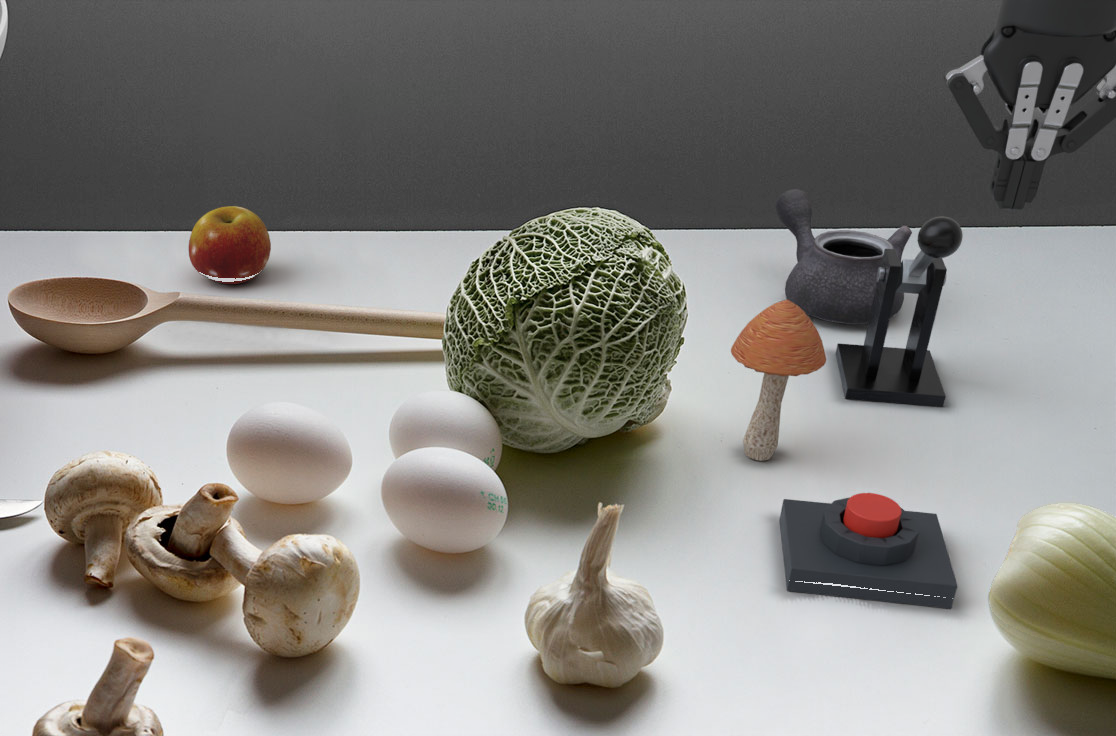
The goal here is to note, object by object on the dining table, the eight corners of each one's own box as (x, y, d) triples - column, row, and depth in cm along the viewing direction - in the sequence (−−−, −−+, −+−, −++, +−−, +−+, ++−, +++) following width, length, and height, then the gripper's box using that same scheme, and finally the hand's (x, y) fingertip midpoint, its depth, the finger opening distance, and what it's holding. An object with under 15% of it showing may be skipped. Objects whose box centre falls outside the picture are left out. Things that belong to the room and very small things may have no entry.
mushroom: (782, 427, 121) (810, 278, 113) (822, 471, 114) (854, 316, 106) (701, 435, 120) (724, 285, 112) (737, 480, 113) (763, 324, 105)
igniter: (893, 513, 102) (898, 495, 101) (900, 542, 99) (905, 523, 98) (840, 508, 103) (844, 490, 102) (845, 536, 100) (850, 517, 99)
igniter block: (930, 535, 106) (942, 494, 104) (951, 609, 98) (963, 566, 96) (779, 520, 108) (787, 479, 106) (786, 591, 100) (795, 548, 98)
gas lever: (966, 250, 111) (969, 211, 111) (922, 248, 111) (924, 208, 112) (926, 300, 124) (928, 264, 124) (886, 298, 124) (889, 262, 125)
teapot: (942, 309, 142) (964, 222, 137) (845, 342, 136) (864, 252, 130) (811, 254, 156) (826, 173, 151) (717, 282, 150) (729, 198, 144)
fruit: (203, 298, 147) (197, 231, 143) (181, 270, 154) (175, 205, 150) (283, 284, 150) (279, 218, 146) (257, 257, 157) (254, 193, 153)
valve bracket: (943, 407, 124) (975, 283, 117) (845, 399, 126) (871, 276, 119) (927, 360, 132) (956, 242, 125) (835, 353, 134) (859, 236, 127)
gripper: (1169, -58, 86) (1093, 194, 96) (959, -63, 89) (905, 183, 98) (1206, -36, 80) (1121, 231, 89) (979, -42, 82) (919, 219, 92)
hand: (1008, 205), depth 94 cm, fingers closed
